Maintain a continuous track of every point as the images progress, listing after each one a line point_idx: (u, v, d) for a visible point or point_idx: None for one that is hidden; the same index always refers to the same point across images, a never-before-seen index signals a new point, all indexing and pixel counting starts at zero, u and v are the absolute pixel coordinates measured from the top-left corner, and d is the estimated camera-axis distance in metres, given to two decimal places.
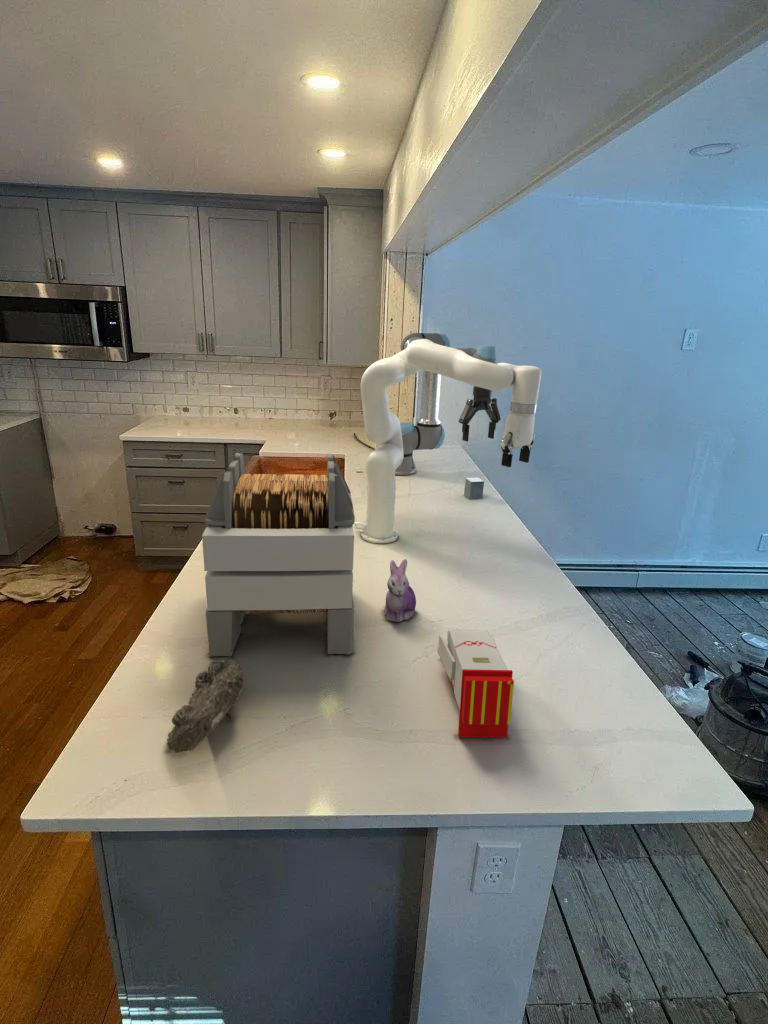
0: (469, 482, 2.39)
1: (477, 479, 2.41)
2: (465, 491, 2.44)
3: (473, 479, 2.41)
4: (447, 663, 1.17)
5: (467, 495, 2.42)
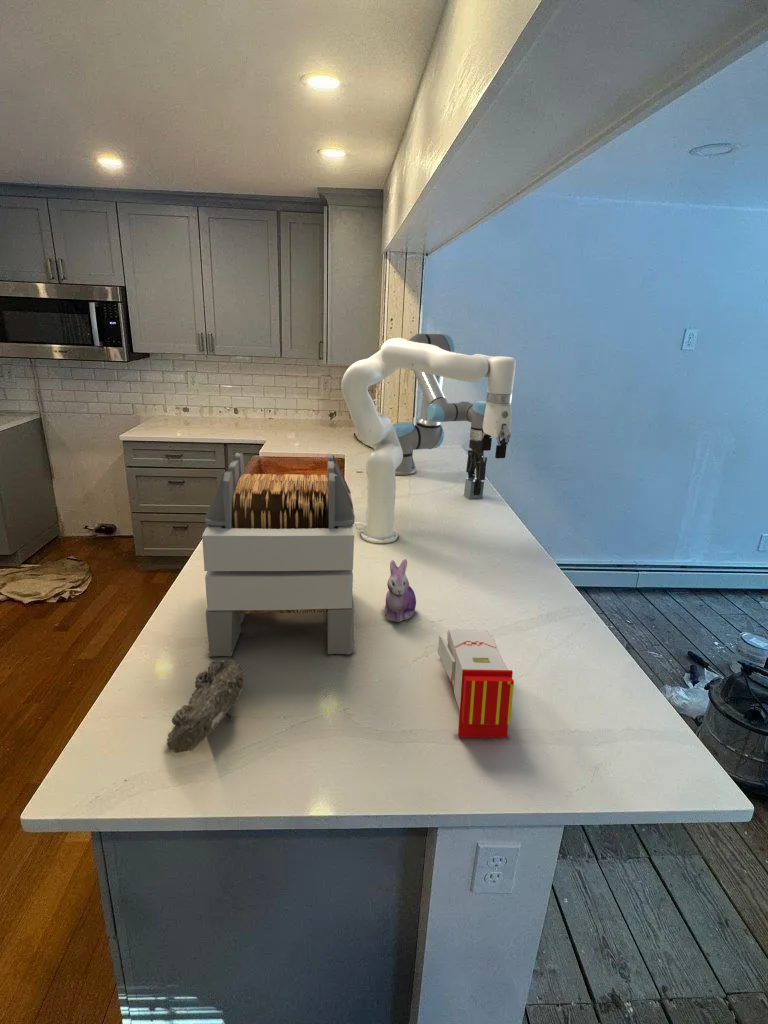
0: (469, 482, 2.39)
1: None
2: (465, 491, 2.44)
3: (473, 479, 2.41)
4: (447, 663, 1.17)
5: (467, 495, 2.42)
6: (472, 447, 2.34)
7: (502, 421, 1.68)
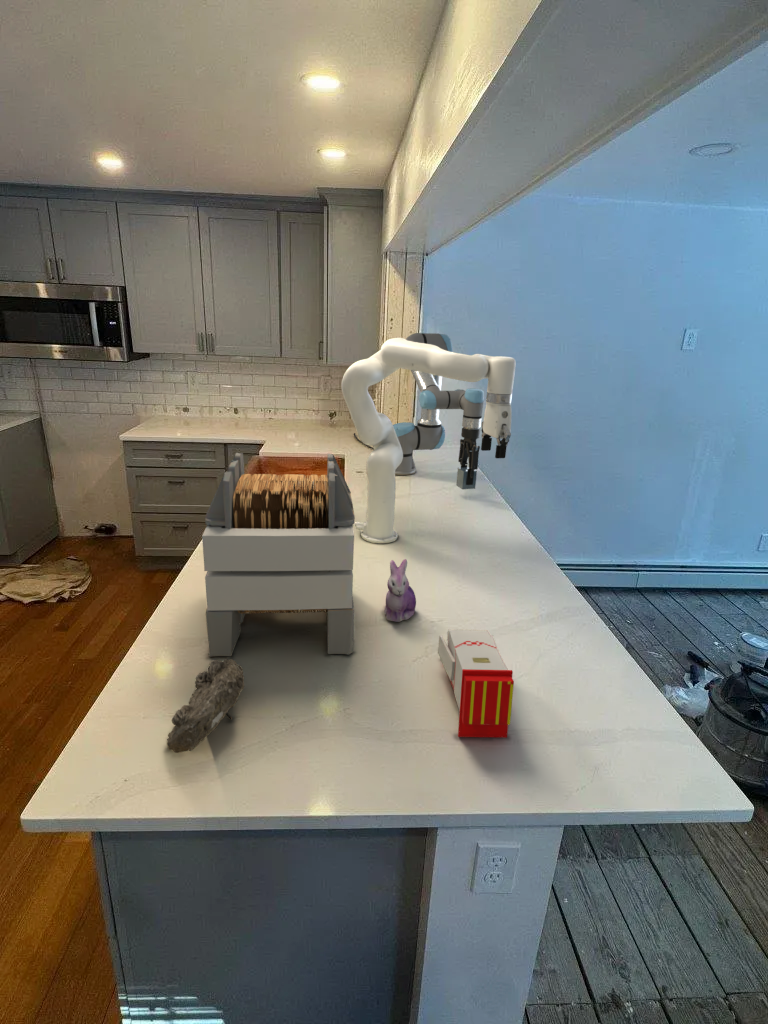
0: (461, 472, 2.34)
1: None
2: (457, 481, 2.39)
3: (466, 469, 2.36)
4: (447, 663, 1.17)
5: (459, 485, 2.37)
6: (464, 436, 2.29)
7: (502, 421, 1.68)
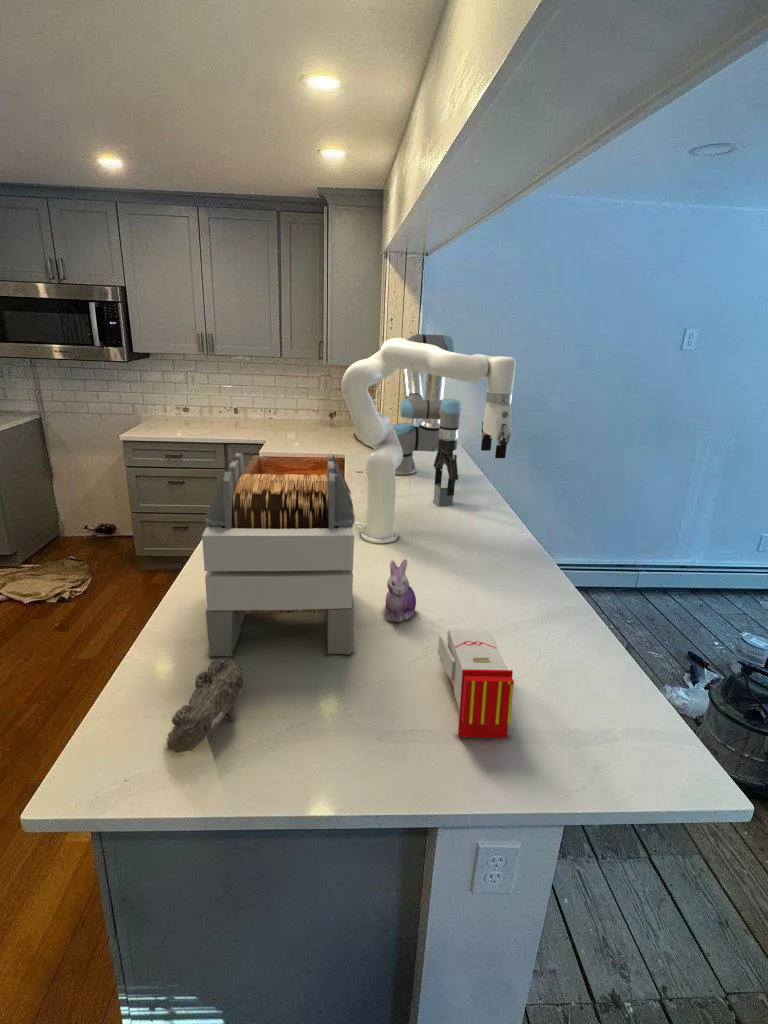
0: (438, 488, 2.29)
1: (447, 485, 2.31)
2: (434, 498, 2.33)
3: (442, 485, 2.31)
4: (447, 663, 1.17)
5: (436, 502, 2.32)
6: (441, 447, 2.23)
7: (502, 421, 1.68)
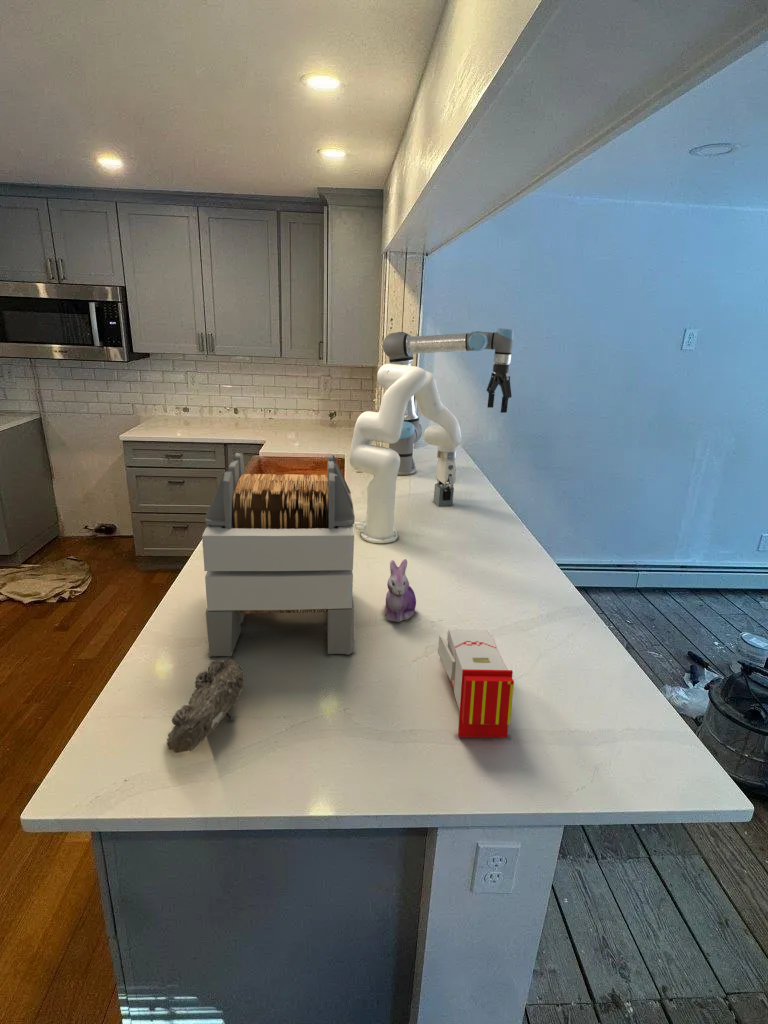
0: (438, 488, 2.29)
1: (447, 485, 2.31)
2: (434, 498, 2.33)
3: (442, 485, 2.31)
4: (447, 663, 1.17)
5: (436, 502, 2.32)
6: (496, 370, 2.59)
7: (448, 472, 2.24)
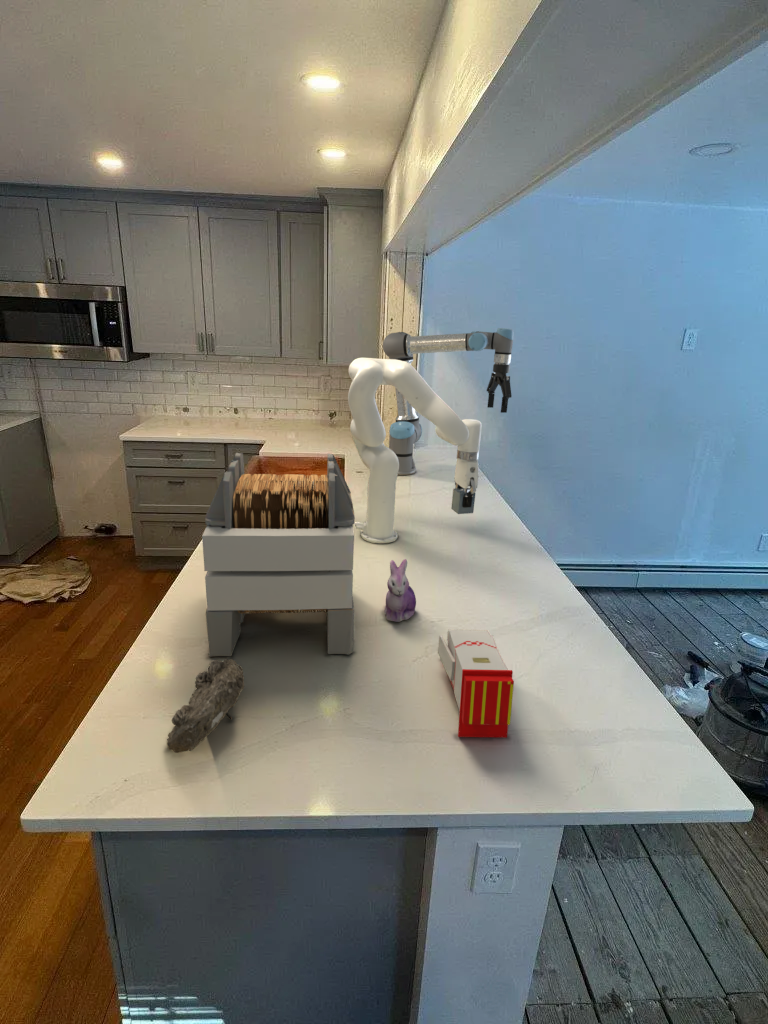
0: (457, 494, 2.00)
1: (467, 490, 2.02)
2: (453, 504, 2.04)
3: (462, 490, 2.02)
4: (447, 663, 1.17)
5: (455, 509, 2.03)
6: (496, 370, 2.59)
7: (470, 475, 1.95)
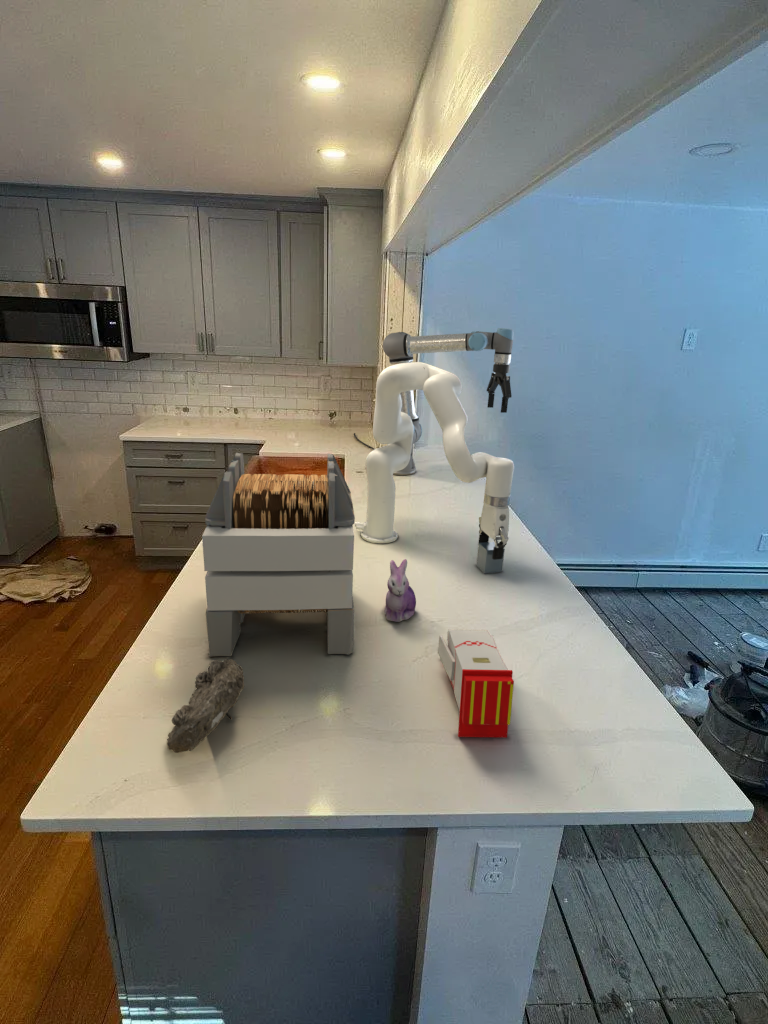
0: (484, 550, 1.72)
1: None
2: (478, 561, 1.76)
3: (489, 545, 1.73)
4: (447, 663, 1.17)
5: (481, 567, 1.74)
6: (496, 370, 2.59)
7: (500, 524, 1.66)
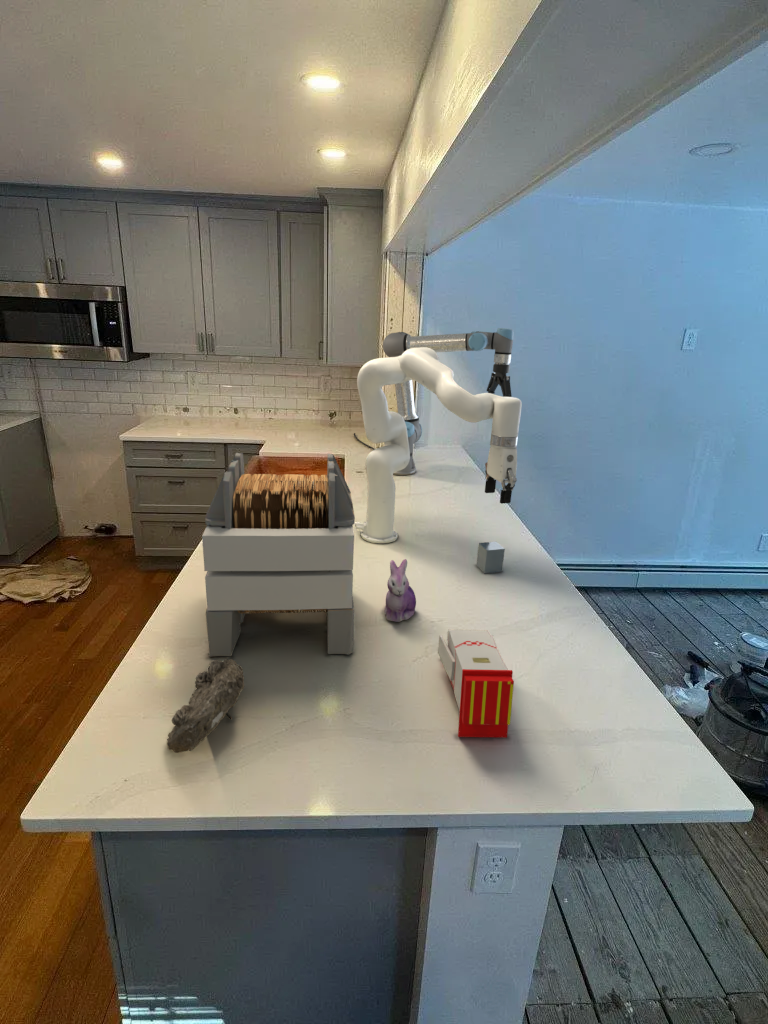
0: (484, 550, 1.72)
1: (495, 545, 1.74)
2: (478, 561, 1.76)
3: (489, 545, 1.73)
4: (447, 663, 1.17)
5: (481, 567, 1.74)
6: (496, 370, 2.59)
7: (507, 465, 1.60)
